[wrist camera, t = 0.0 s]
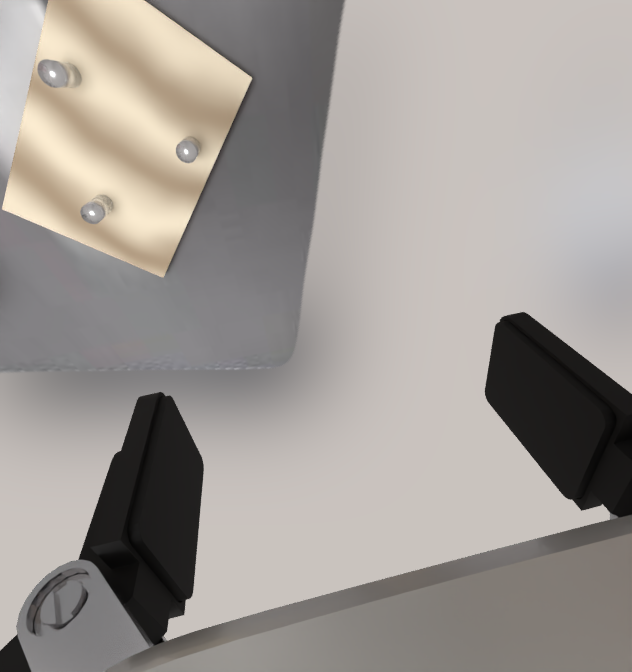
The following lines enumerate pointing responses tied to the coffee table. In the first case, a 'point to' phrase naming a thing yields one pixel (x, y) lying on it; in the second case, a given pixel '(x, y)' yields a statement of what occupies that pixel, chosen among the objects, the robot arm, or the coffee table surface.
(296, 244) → the coffee table surface
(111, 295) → the coffee table surface
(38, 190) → the pin board
